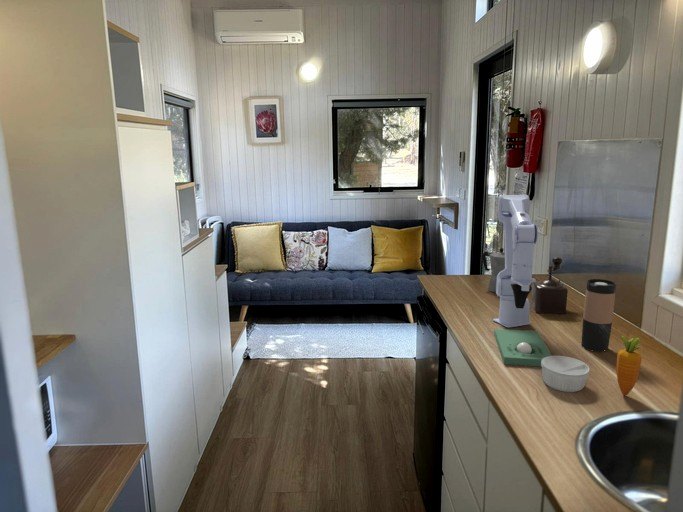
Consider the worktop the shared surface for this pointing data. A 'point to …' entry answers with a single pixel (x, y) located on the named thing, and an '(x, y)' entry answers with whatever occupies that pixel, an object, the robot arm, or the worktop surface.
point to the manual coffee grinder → (550, 293)
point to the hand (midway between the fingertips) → (519, 307)
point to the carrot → (628, 365)
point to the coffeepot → (494, 266)
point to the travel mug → (598, 314)
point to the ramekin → (564, 373)
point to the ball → (524, 348)
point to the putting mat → (510, 341)
